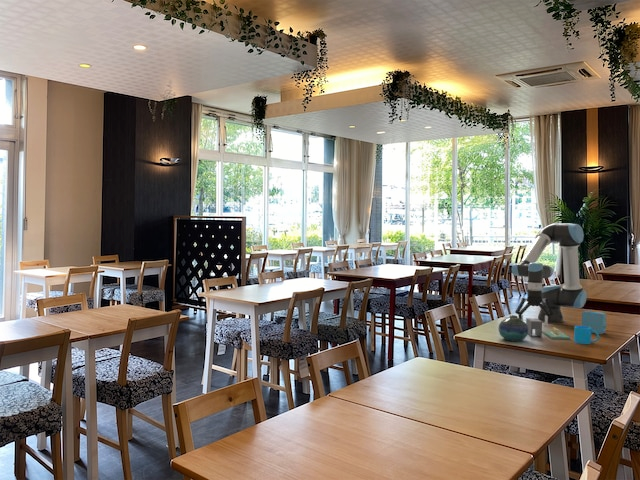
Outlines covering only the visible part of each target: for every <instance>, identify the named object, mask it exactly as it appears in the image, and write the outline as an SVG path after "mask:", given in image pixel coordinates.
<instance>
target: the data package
mask: <svg viewBox="0 0 640 480" xmlns="http://www.w3.org/2000/svg"><path fill="white" fill-rule="evenodd" d="M580 326H588V327H591V329H592V330H594V331H596V332H597V333H598V334H599V335H602V334H605V333H606V332H607V314H606V313H605V312H599V311H593V310H585V311H582V313H581V324H580ZM591 334H596V333H595V332H593V331H591Z"/></svg>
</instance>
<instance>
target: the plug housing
mask: <svg viewBox="0 0 640 480" xmlns="http://www.w3.org/2000/svg"><path fill="white" fill-rule="evenodd" d="M525 323H526V324H527V326H528V335H527V336H529V337H530V338H533V334H535V335H536V336H537V337H539V338H543V333H542V331H543V321H540V320H539V319H538V317H537V318H536V317H535V318H533V317H526V318H525ZM533 330H534V333H533Z"/></svg>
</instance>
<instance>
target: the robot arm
mask: <svg viewBox="0 0 640 480" xmlns="http://www.w3.org/2000/svg"><path fill="white" fill-rule="evenodd" d="M584 237H585V234H584V229H583V228H582V226H581V225H580V224H578V223H551V224H548V225H546V226H544V227H543V228H542V229H540V230H539V231H538V232H537V234H536V235H535V237H534V238H535V240H534V241H533V242H532V244H531V246H530V247H529V249H528V250H527V251H526V253H525V255H524V256H523V258H522V259H521V260H520V262H519V263H517V262H516V263H513V264H512V266H511V273H512V275H513V276H516V277H523V278H526V277H527V297H526V298H525V297H521V300H520V303H519V304H518V306H517V308H516V309H515V311H514V313H515V314H516V315H517V316H518V318H519V319H520V320H522V321H523V322H524V315H523V314H524V313H525V312H526V311H527V310H528V309H529V308H530V307H531V306H532V307H539V308H540V310H539V312H538V316H537V319H539V320H540V321H542V322H544V328H546V329H547V328H548V325H549V323H563V322H564V316H563V312H562V310H561V307H567V308H573V309H581V308H583V307H584V306H585V305H586V302H587V298H588V296H587V295H588V292H587V291H586V289H585V290H584V288H583V286H582V285H581V284H580V283H581V282H580V268H579V267H580V266H579V250H578V249H579V248H578V247H580V245H581V243H583V241H584ZM551 243H559V244H558V245H559V247H560V248H562V249H561V251H562V265H563V266H562V267H563V280H564V284H563V285H557V284H554V285H553V284H552V285H544V286H543V279H548V278H551V277H552V276H553V274H554V269H553V268H552V266H551V265H546V264H543V263H542V262H537V261H538V260H539V258H540V257H541V255H542V254H543V252H544V250H545V249H546V247H547V246H549V245H550V244H551ZM526 302H527V303H526ZM525 303H526V304H525ZM524 304H525V305H524Z"/></svg>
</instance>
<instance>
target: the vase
mask: <svg viewBox="0 0 640 480" xmlns="http://www.w3.org/2000/svg"><path fill="white" fill-rule="evenodd" d="M497 329H498V332H499V335H500V336H501V337H502V338H503V339H504V340H506V341H510V342H520V341H523V340H525V339H526V338H527V336H529V335H528V326H527V324H526V321H524V320H523V321H522V320H520V319H519V316H518V315H513V314H512V315H509V317H507V318H505V319H502V320H501V321H500V323H499V324H498V327H497Z"/></svg>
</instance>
